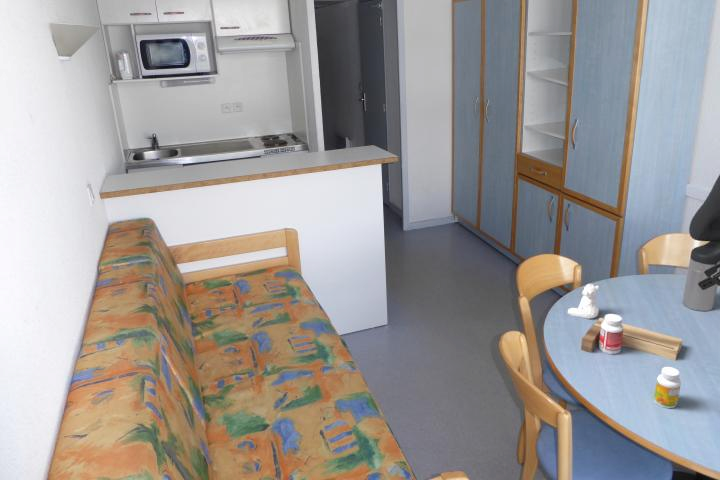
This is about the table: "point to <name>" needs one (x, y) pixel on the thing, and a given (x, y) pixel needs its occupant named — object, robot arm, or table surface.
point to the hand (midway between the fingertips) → (703, 280)
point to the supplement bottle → (667, 387)
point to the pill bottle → (611, 334)
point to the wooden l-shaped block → (636, 340)
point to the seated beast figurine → (586, 304)
